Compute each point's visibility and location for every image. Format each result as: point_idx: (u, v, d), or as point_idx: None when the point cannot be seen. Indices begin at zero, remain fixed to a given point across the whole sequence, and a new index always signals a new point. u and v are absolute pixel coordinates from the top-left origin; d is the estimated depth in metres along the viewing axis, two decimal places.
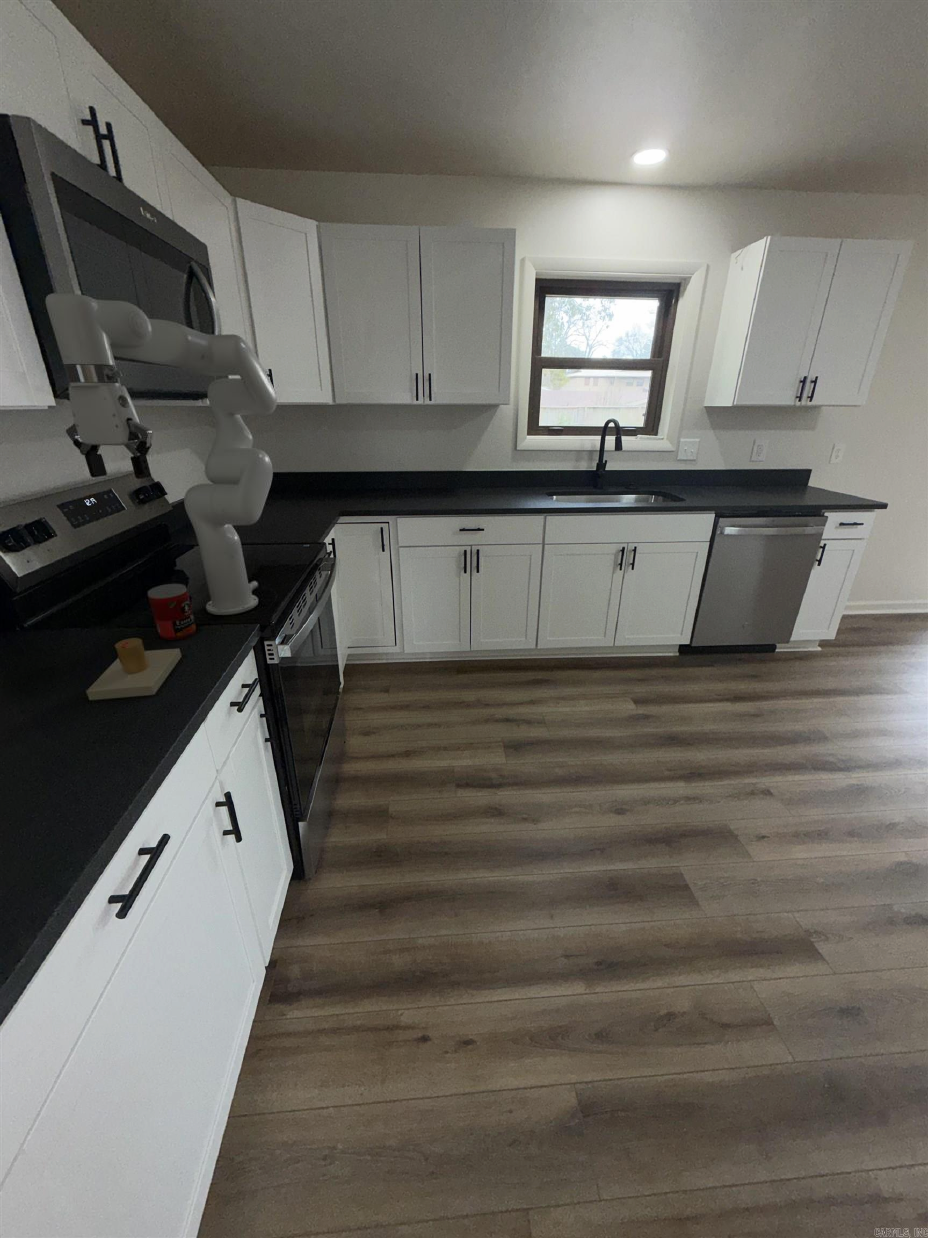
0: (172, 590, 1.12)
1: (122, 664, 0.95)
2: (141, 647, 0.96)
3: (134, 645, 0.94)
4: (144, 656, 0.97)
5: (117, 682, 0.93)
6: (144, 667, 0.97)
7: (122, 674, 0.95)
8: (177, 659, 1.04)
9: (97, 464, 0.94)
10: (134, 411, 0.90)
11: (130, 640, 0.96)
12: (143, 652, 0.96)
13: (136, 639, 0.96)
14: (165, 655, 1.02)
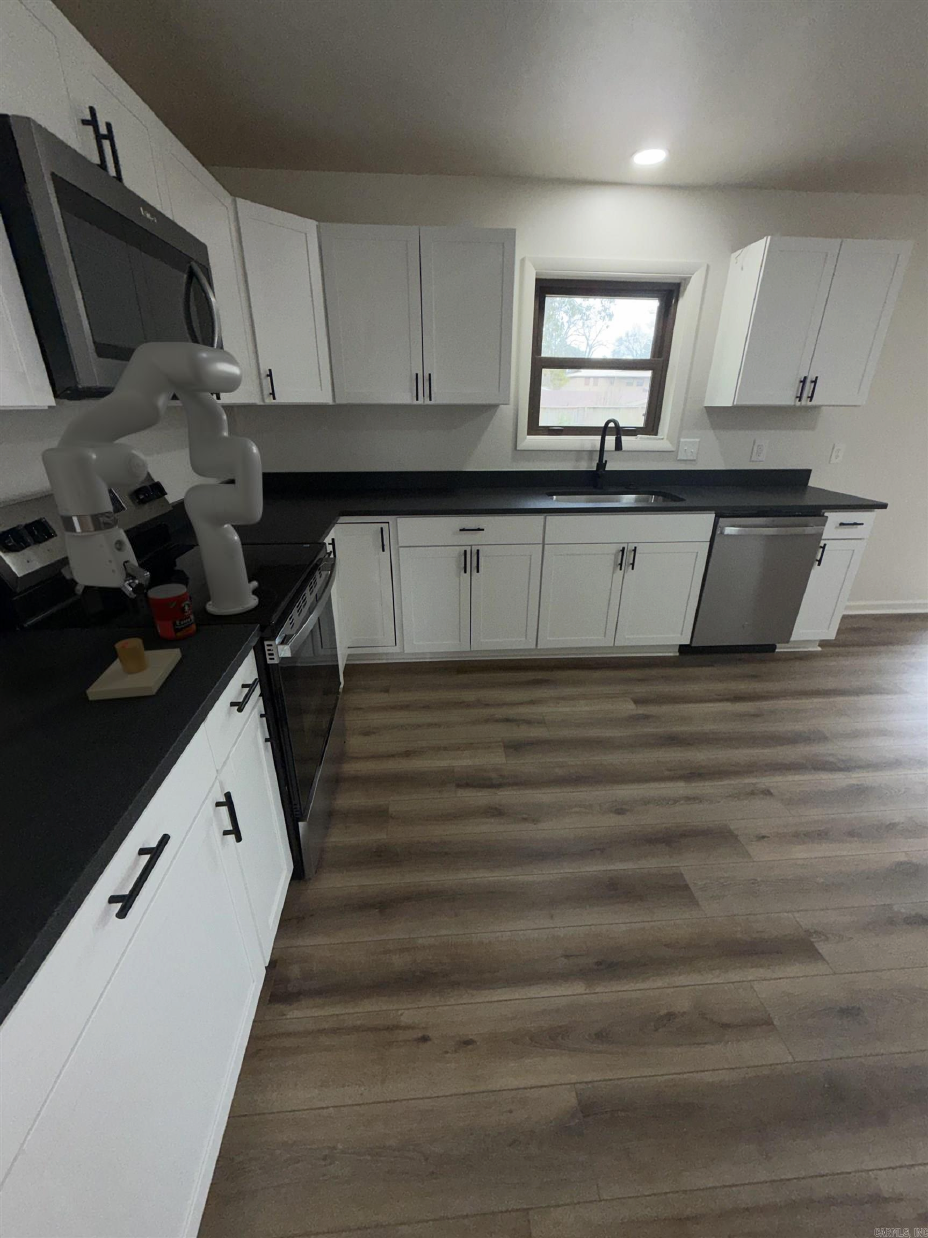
0: (172, 590, 1.12)
1: (122, 664, 0.95)
2: (141, 647, 0.96)
3: (134, 645, 0.94)
4: (144, 656, 0.97)
5: (117, 682, 0.93)
6: (144, 667, 0.97)
7: (122, 674, 0.95)
8: (177, 659, 1.04)
9: (93, 601, 0.92)
10: (131, 552, 0.88)
11: (130, 640, 0.96)
12: (143, 652, 0.96)
13: (136, 639, 0.96)
14: (165, 655, 1.02)
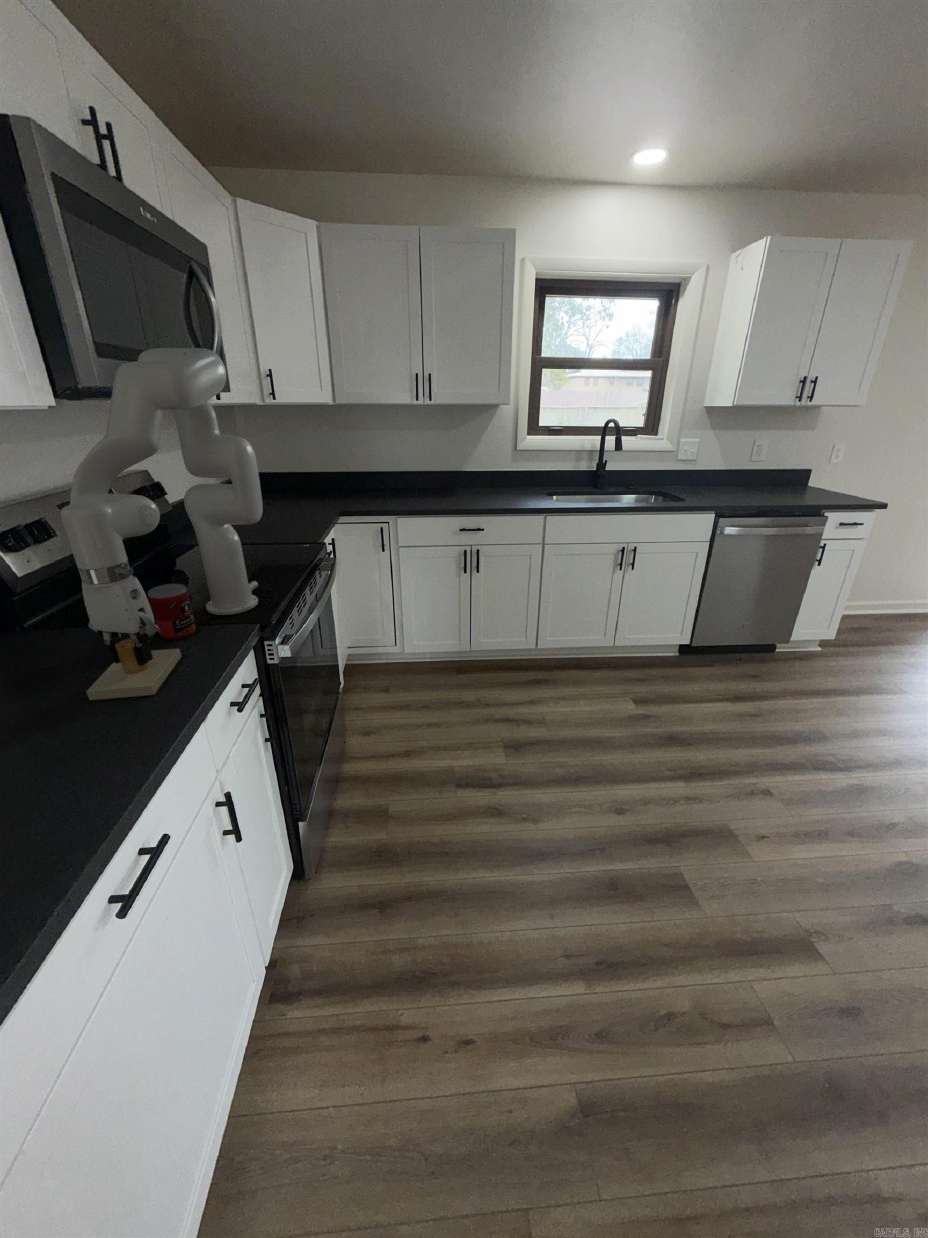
0: (172, 590, 1.12)
1: (122, 664, 0.95)
2: None
3: (134, 645, 0.94)
4: None
5: (117, 682, 0.93)
6: (144, 667, 0.97)
7: (122, 674, 0.95)
8: (177, 659, 1.04)
9: None
10: (145, 599, 0.92)
11: (130, 640, 0.96)
12: None
13: None
14: (165, 655, 1.02)
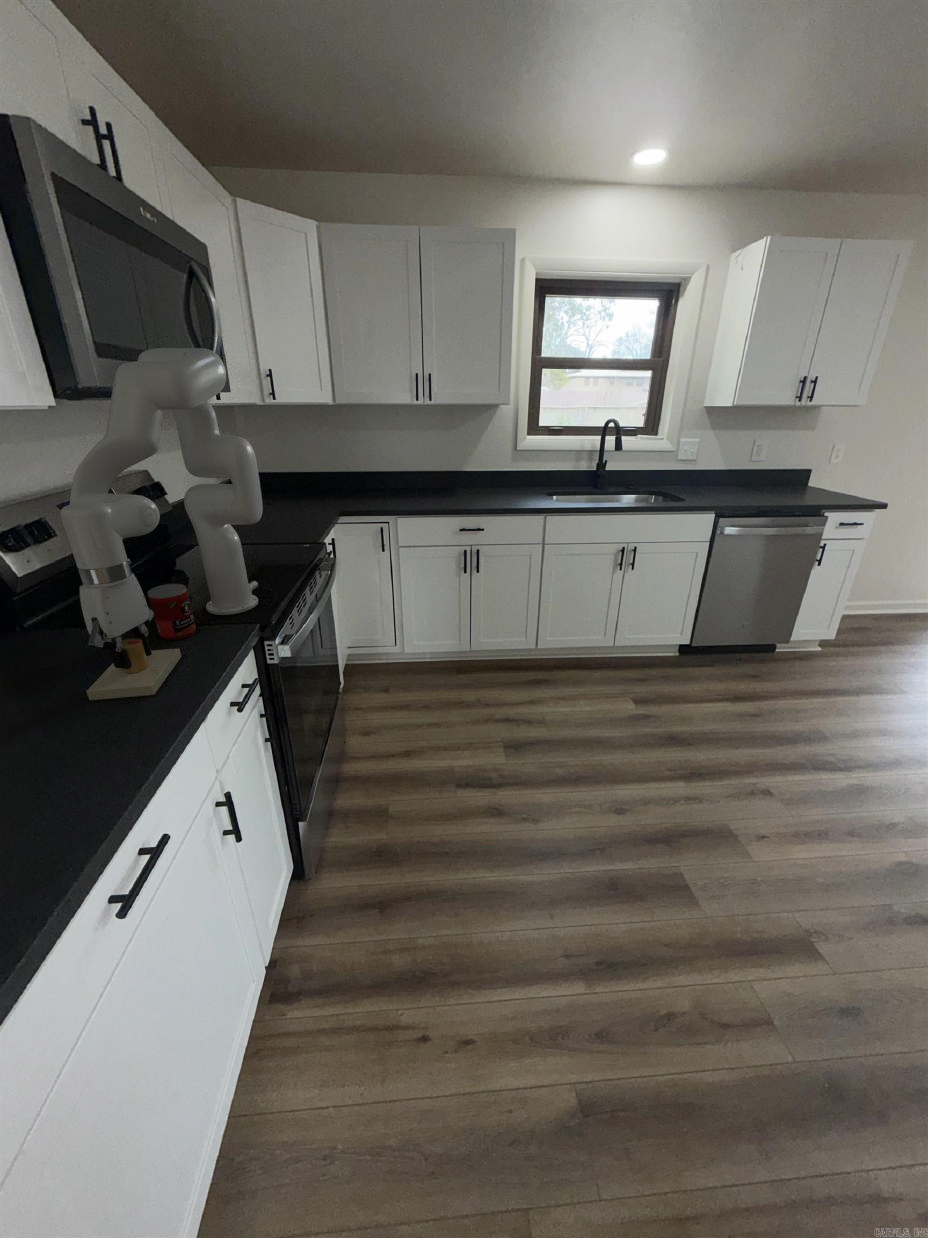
0: (172, 590, 1.12)
1: (140, 661, 0.96)
2: None
3: None
4: None
5: (117, 682, 0.93)
6: None
7: (122, 674, 0.95)
8: (177, 659, 1.04)
9: None
10: None
11: None
12: None
13: (123, 641, 0.96)
14: (165, 655, 1.02)
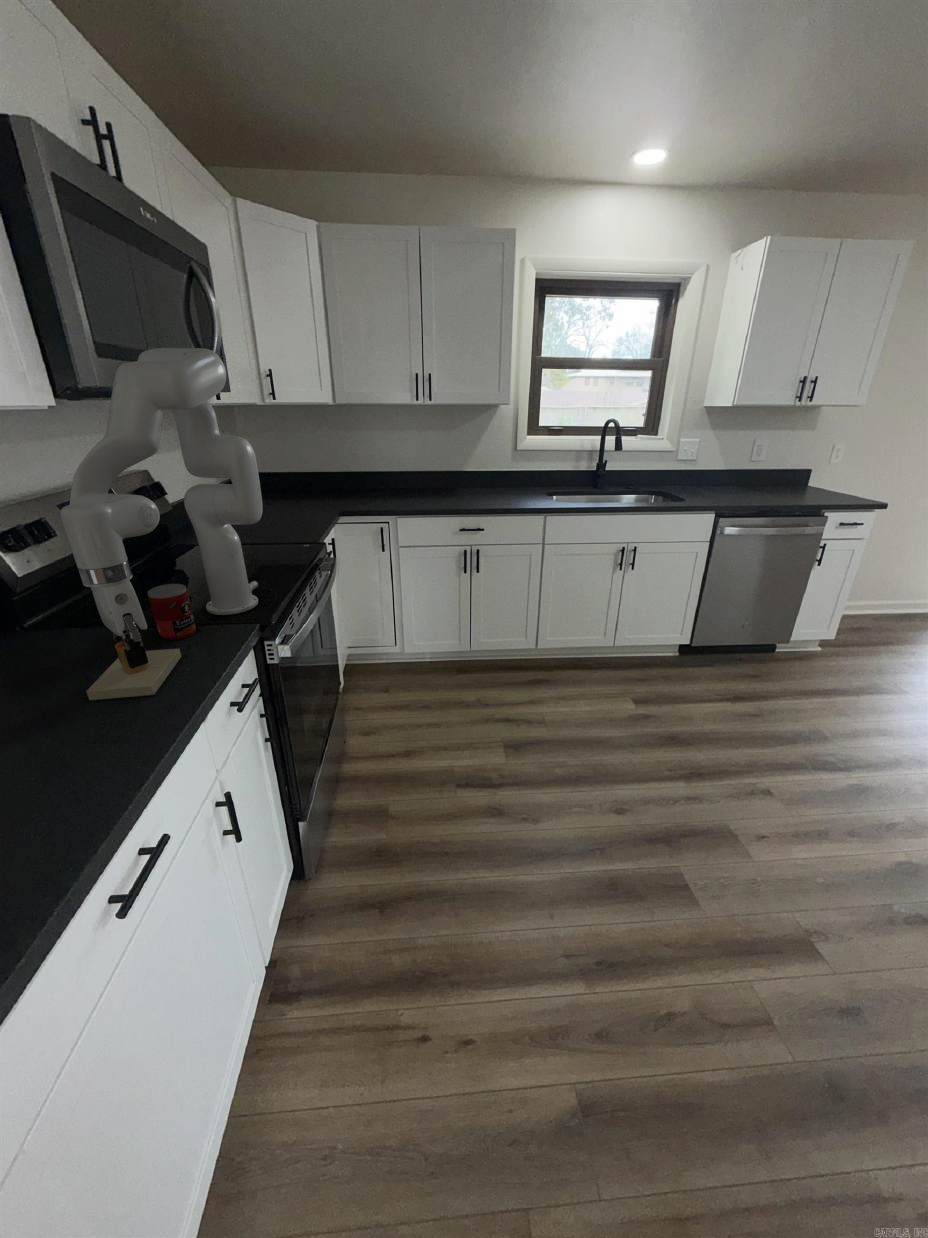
0: (172, 590, 1.12)
1: (120, 662, 0.95)
2: None
3: None
4: None
5: (117, 682, 0.93)
6: (138, 670, 0.96)
7: (122, 674, 0.95)
8: (177, 659, 1.04)
9: None
10: (135, 605, 0.90)
11: None
12: None
13: None
14: (165, 655, 1.02)
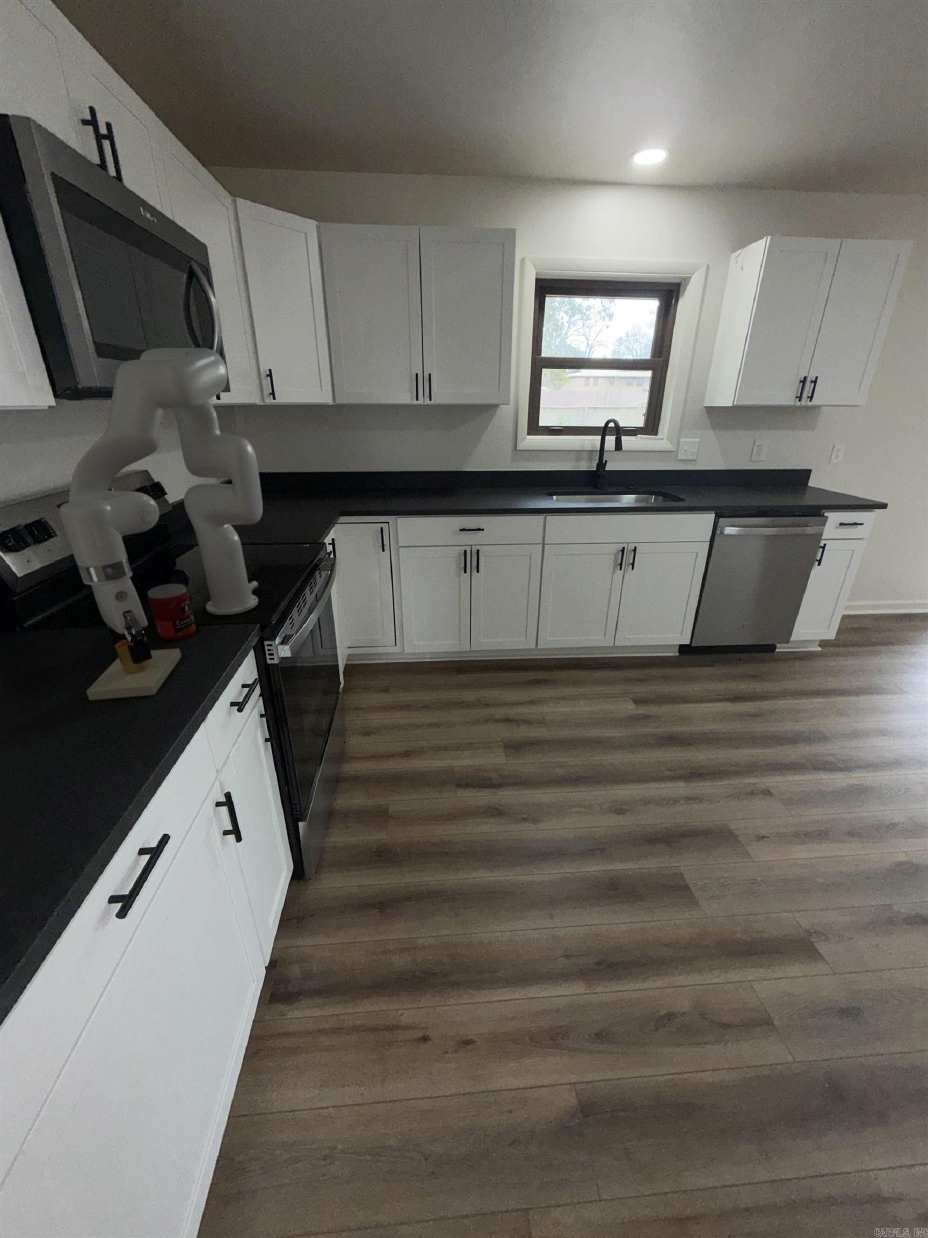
0: (172, 590, 1.12)
1: (120, 662, 0.95)
2: None
3: None
4: None
5: (117, 682, 0.93)
6: (138, 669, 0.96)
7: (122, 674, 0.95)
8: (177, 659, 1.04)
9: (121, 636, 0.98)
10: (136, 602, 0.90)
11: None
12: None
13: None
14: (165, 655, 1.02)
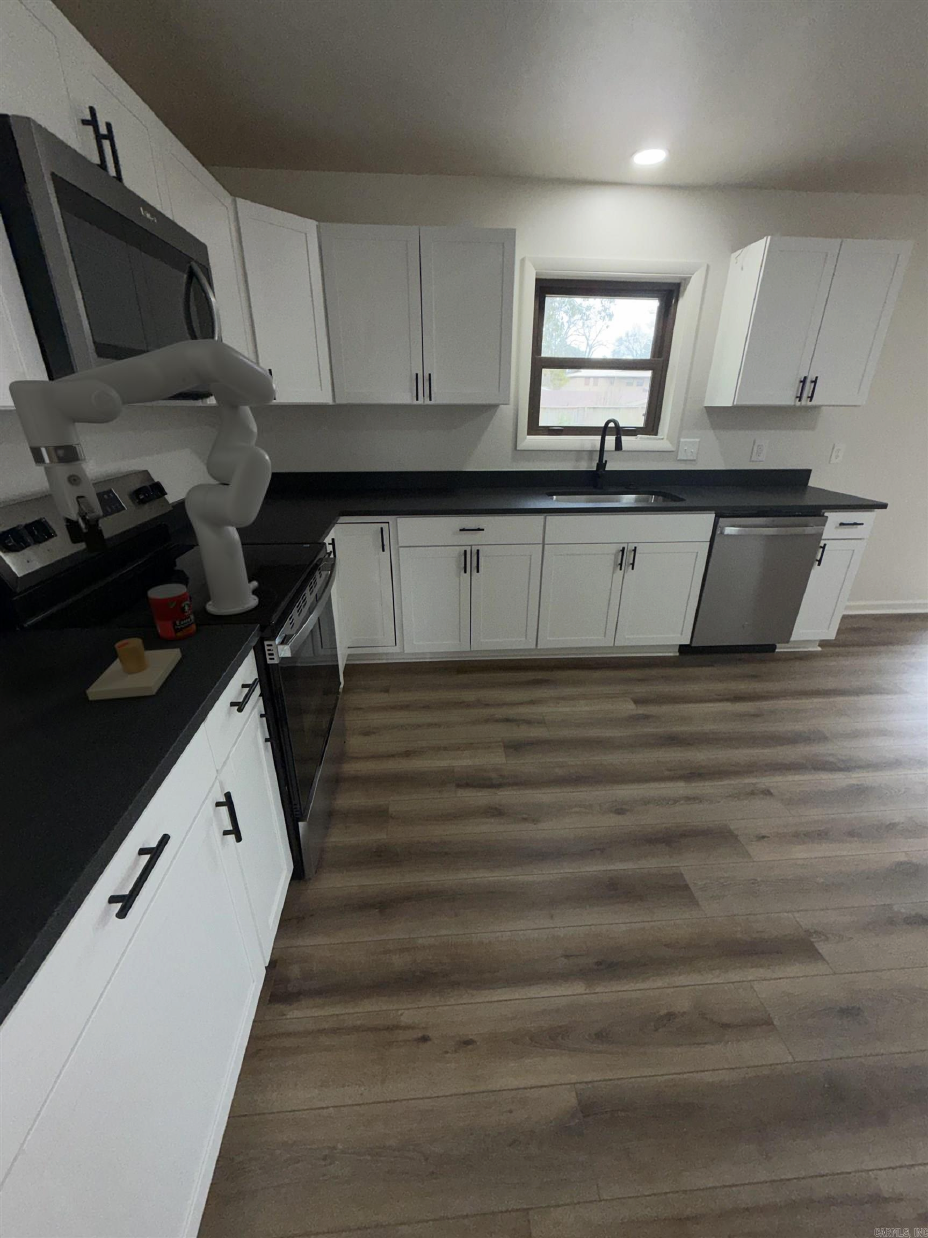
0: (172, 590, 1.12)
1: (120, 662, 0.95)
2: (137, 650, 0.95)
3: (128, 647, 0.93)
4: (140, 659, 0.96)
5: (117, 682, 0.93)
6: (138, 669, 0.96)
7: (122, 674, 0.95)
8: (177, 659, 1.04)
9: (78, 532, 0.99)
10: (89, 488, 0.91)
11: (133, 640, 0.96)
12: (139, 655, 0.95)
13: (138, 640, 0.96)
14: (165, 655, 1.02)
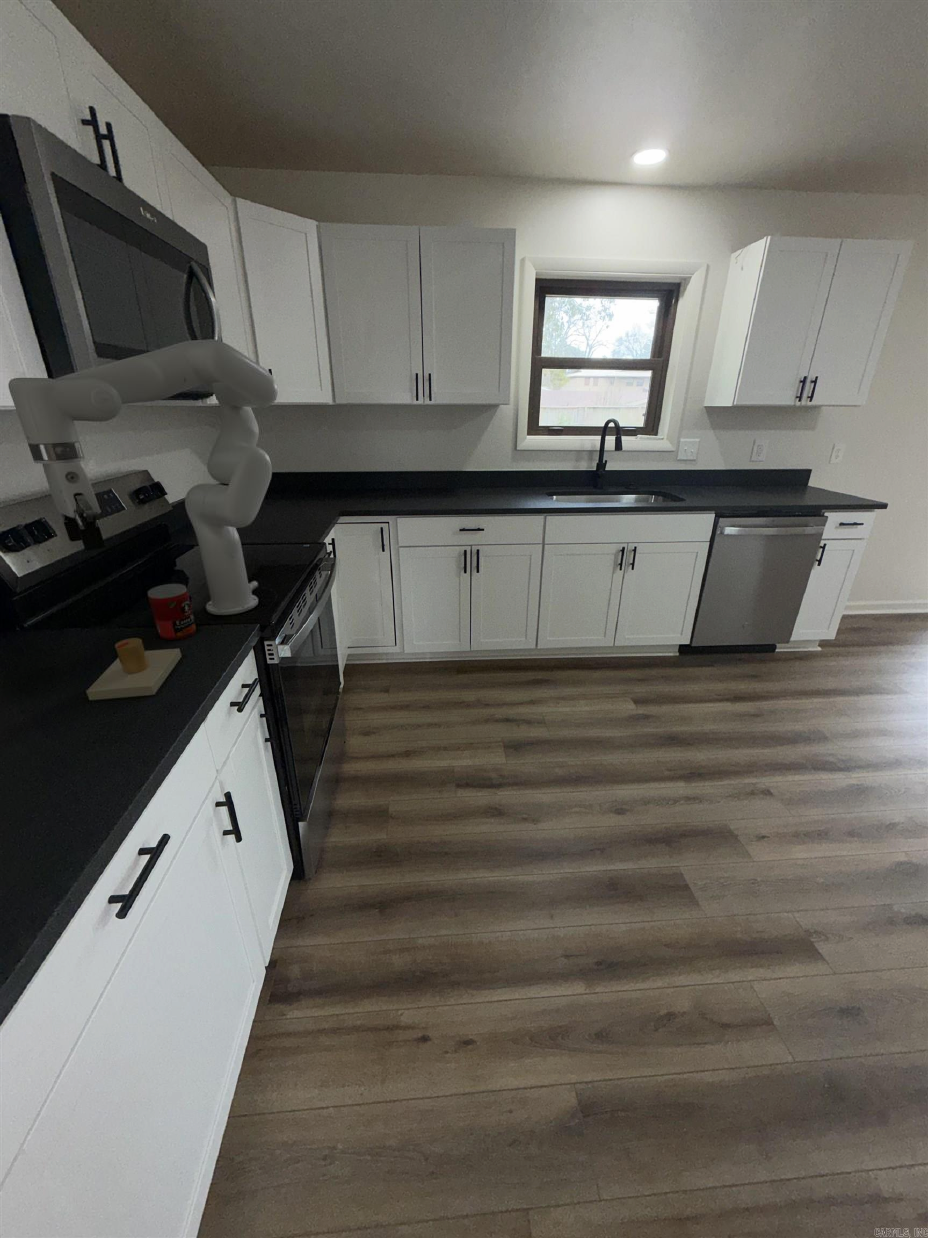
0: (172, 590, 1.12)
1: (120, 662, 0.95)
2: (137, 650, 0.95)
3: (128, 647, 0.93)
4: (140, 659, 0.96)
5: (117, 682, 0.93)
6: (138, 669, 0.96)
7: (122, 674, 0.95)
8: (177, 659, 1.04)
9: (76, 529, 0.99)
10: (87, 485, 0.91)
11: (133, 640, 0.96)
12: (139, 655, 0.95)
13: (138, 640, 0.96)
14: (165, 655, 1.02)
